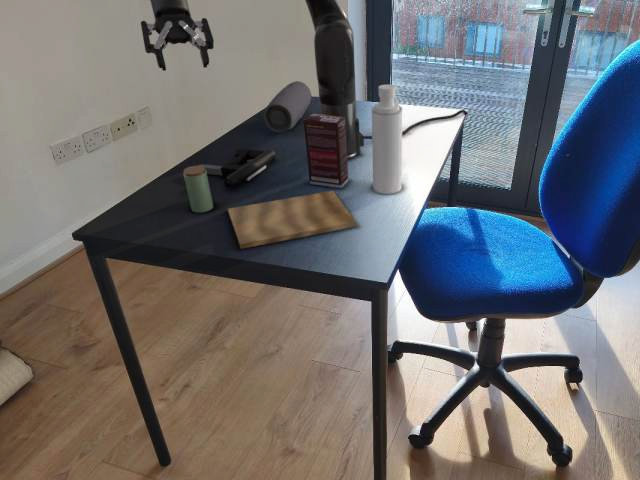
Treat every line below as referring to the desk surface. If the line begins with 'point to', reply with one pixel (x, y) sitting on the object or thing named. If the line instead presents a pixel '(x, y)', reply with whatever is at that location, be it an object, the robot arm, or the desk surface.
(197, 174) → the salt pot
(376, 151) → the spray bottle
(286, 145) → the desk surface
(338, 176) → the supplement box
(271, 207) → the oak board
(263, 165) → the door handle
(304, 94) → the bluetooth speaker
